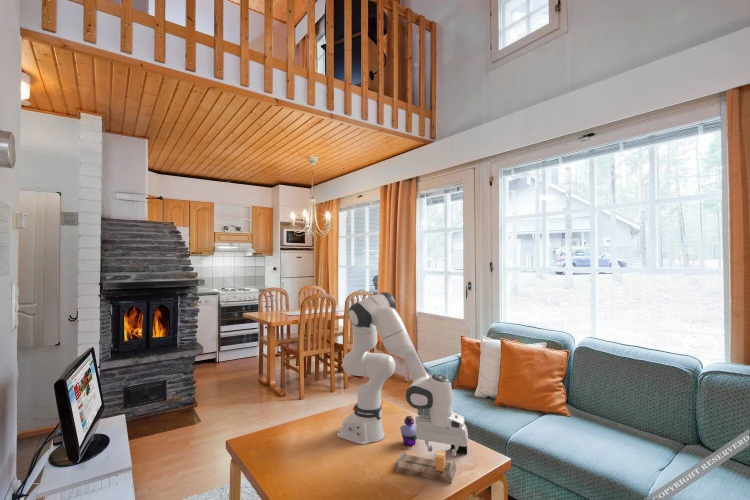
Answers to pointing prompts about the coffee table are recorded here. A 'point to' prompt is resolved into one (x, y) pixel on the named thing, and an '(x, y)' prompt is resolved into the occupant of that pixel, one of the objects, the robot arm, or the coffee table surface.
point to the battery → (460, 449)
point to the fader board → (424, 468)
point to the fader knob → (440, 461)
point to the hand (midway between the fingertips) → (441, 452)
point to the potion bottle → (409, 432)
